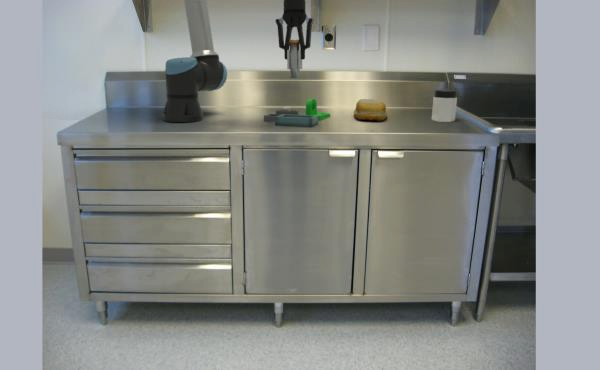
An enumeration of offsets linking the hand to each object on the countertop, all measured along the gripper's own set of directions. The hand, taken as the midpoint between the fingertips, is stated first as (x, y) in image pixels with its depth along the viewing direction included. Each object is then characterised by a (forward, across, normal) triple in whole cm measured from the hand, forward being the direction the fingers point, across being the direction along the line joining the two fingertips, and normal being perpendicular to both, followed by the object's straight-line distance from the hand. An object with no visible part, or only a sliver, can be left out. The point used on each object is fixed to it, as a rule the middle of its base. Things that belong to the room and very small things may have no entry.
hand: (294, 69), depth 176 cm
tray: (+19, +1, -2) cm, 19 cm away
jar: (+20, +53, +29) cm, 63 cm away
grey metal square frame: (+19, -10, +8) cm, 23 cm away
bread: (+20, +24, +28) cm, 42 cm away
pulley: (+19, -8, +20) cm, 29 cm away
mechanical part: (+20, +5, +20) cm, 28 cm away
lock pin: (+3, 0, 0) cm, 3 cm away
